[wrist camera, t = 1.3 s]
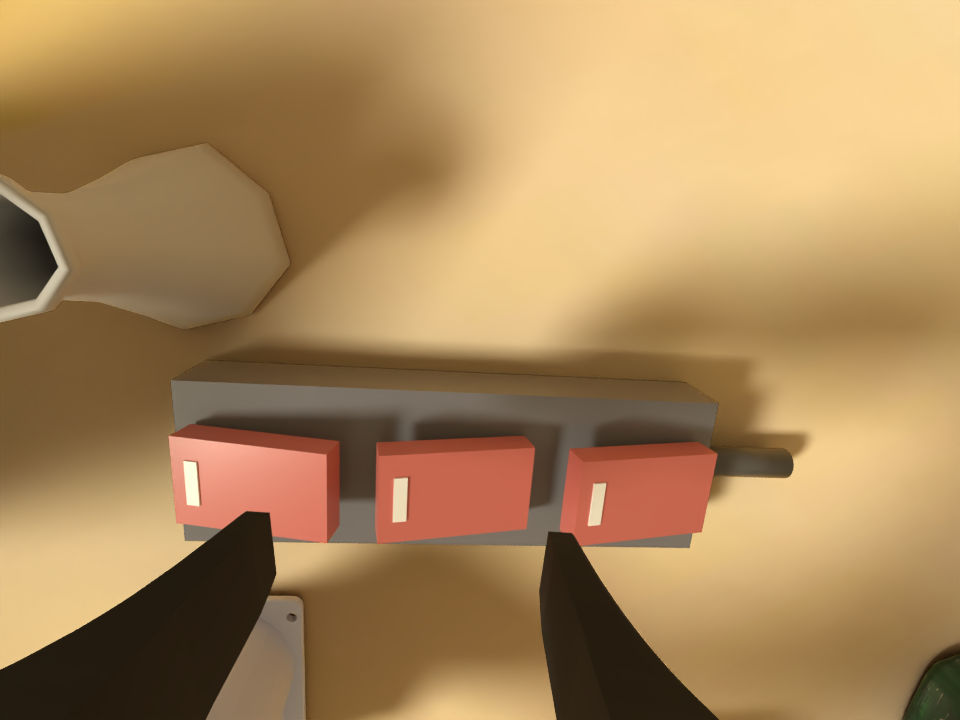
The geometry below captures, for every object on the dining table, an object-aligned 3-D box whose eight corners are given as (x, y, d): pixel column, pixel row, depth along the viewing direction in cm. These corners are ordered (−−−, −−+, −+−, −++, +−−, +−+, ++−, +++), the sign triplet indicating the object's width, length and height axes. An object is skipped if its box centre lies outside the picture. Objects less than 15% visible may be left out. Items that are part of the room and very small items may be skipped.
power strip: (753, 513, 26) (797, 554, 23) (215, 502, 24) (180, 546, 20) (782, 386, 24) (835, 411, 21) (206, 360, 22) (164, 383, 19)
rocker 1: (339, 525, 20) (326, 544, 19) (197, 506, 20) (175, 524, 19) (339, 441, 19) (325, 455, 18) (190, 423, 19) (167, 436, 18)
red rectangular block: (683, 516, 22) (702, 533, 21) (559, 528, 21) (573, 547, 19) (697, 441, 21) (718, 454, 20) (569, 448, 20) (584, 463, 18)
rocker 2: (516, 512, 22) (527, 530, 20) (375, 525, 20) (377, 545, 19) (524, 435, 21) (535, 448, 19) (376, 442, 19) (379, 457, 18)
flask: (214, 109, 20) (-5, -4, 10) (322, 270, 21) (227, 306, 12) (65, 207, 20) (-281, 189, 10) (184, 356, 22) (-16, 458, 12)
